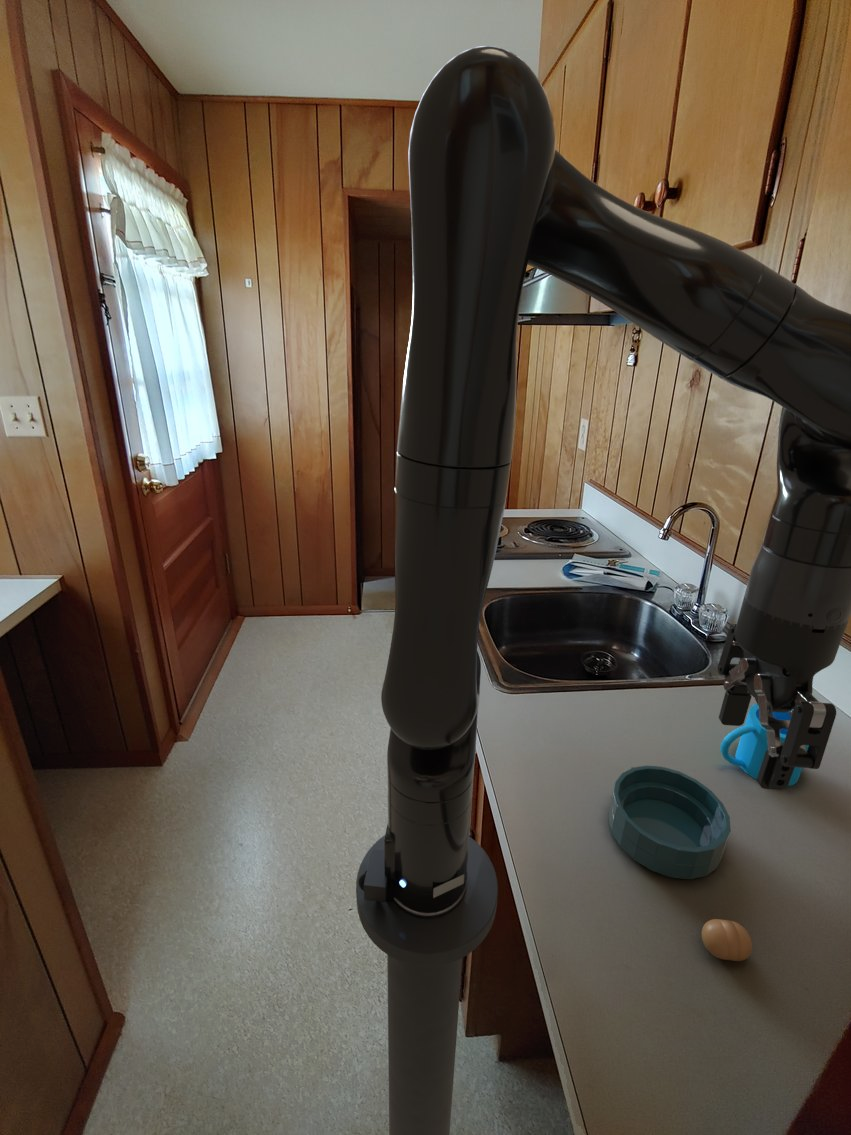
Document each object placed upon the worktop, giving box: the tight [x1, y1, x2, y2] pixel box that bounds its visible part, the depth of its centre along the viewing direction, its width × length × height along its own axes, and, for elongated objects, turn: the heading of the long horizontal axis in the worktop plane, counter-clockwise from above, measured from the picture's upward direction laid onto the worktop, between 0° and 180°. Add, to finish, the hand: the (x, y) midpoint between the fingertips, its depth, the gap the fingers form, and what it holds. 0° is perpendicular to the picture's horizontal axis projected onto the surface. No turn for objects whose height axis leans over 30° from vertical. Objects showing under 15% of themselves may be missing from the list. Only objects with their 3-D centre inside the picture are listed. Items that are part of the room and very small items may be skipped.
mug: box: [720, 703, 809, 787], centre depth 79 cm, size 12×8×8 cm
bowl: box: [607, 765, 732, 880], centre depth 68 cm, size 13×13×5 cm
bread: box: [701, 918, 753, 962], centre depth 56 cm, size 5×3×3 cm
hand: (748, 752), depth 53 cm, fingers open, 8 cm apart
